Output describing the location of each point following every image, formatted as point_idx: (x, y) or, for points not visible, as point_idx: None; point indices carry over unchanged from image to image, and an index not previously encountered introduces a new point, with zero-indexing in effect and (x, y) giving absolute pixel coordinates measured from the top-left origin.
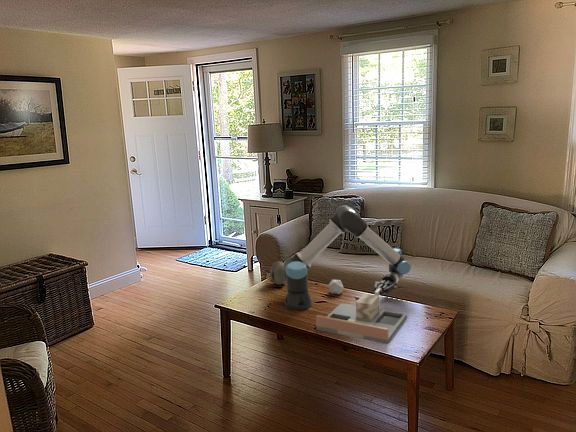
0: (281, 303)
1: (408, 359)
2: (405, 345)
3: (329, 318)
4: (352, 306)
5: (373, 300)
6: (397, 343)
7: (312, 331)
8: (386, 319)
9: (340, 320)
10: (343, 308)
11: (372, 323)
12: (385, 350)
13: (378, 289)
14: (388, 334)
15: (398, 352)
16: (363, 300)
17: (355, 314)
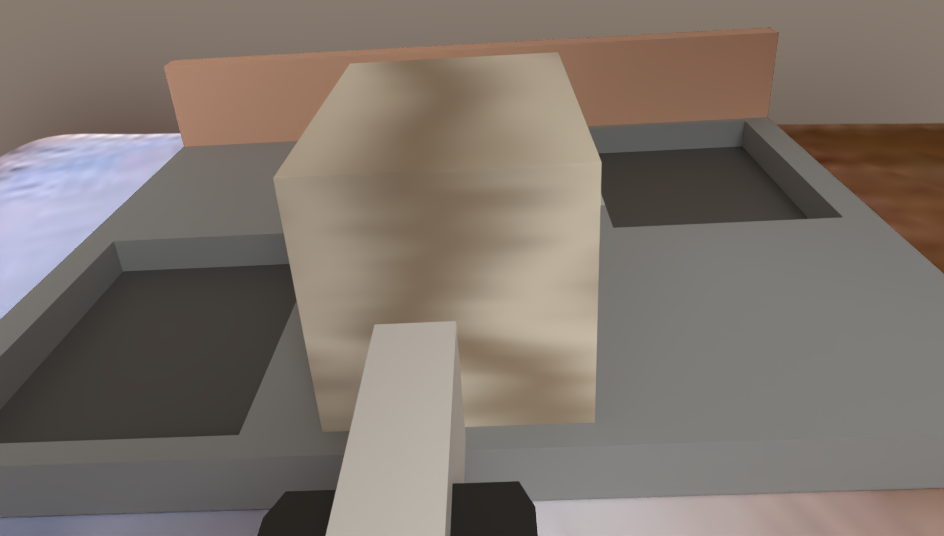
0: None
1: (82, 134)
2: (70, 186)
3: (647, 35)
4: (819, 396)
5: (343, 100)
6: (126, 185)
7: None
8: (208, 371)
9: (550, 40)
10: (870, 317)
11: None
12: None
13: (399, 508)
14: (182, 167)
15: (132, 147)
16: (485, 77)
17: (599, 265)
